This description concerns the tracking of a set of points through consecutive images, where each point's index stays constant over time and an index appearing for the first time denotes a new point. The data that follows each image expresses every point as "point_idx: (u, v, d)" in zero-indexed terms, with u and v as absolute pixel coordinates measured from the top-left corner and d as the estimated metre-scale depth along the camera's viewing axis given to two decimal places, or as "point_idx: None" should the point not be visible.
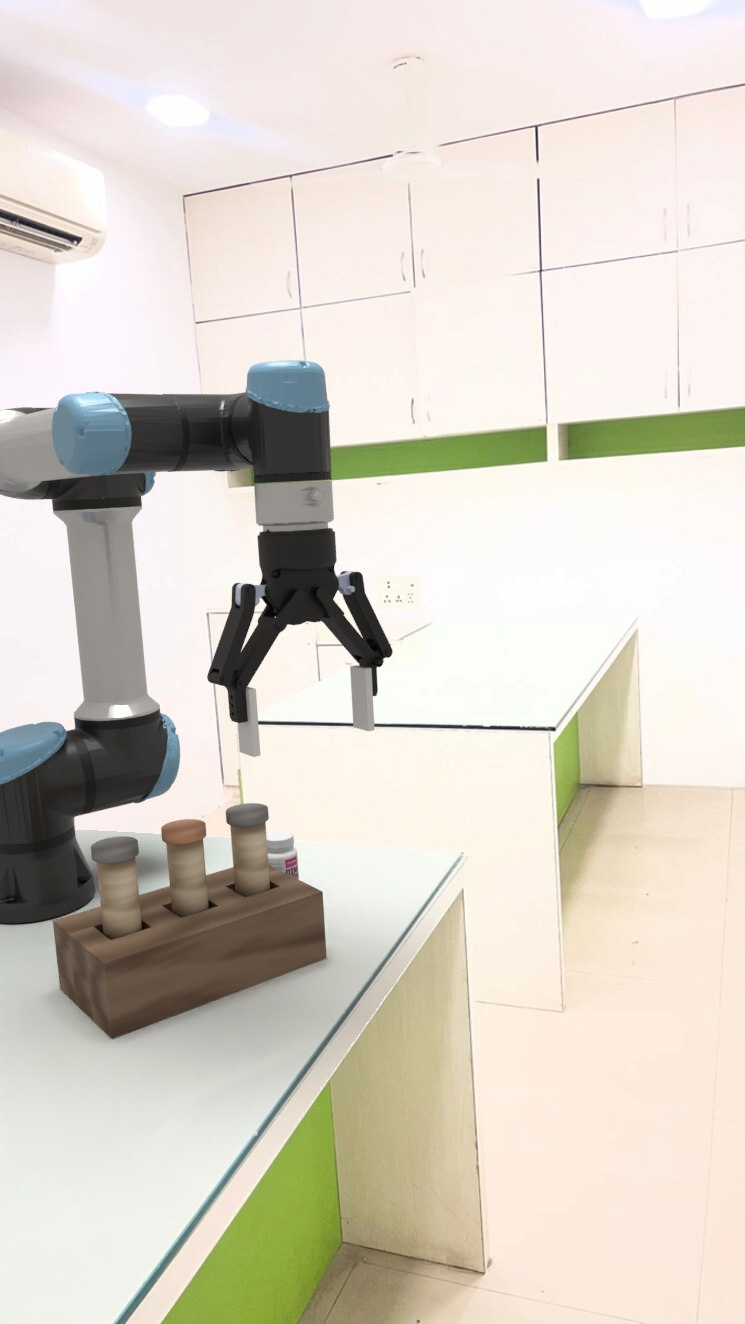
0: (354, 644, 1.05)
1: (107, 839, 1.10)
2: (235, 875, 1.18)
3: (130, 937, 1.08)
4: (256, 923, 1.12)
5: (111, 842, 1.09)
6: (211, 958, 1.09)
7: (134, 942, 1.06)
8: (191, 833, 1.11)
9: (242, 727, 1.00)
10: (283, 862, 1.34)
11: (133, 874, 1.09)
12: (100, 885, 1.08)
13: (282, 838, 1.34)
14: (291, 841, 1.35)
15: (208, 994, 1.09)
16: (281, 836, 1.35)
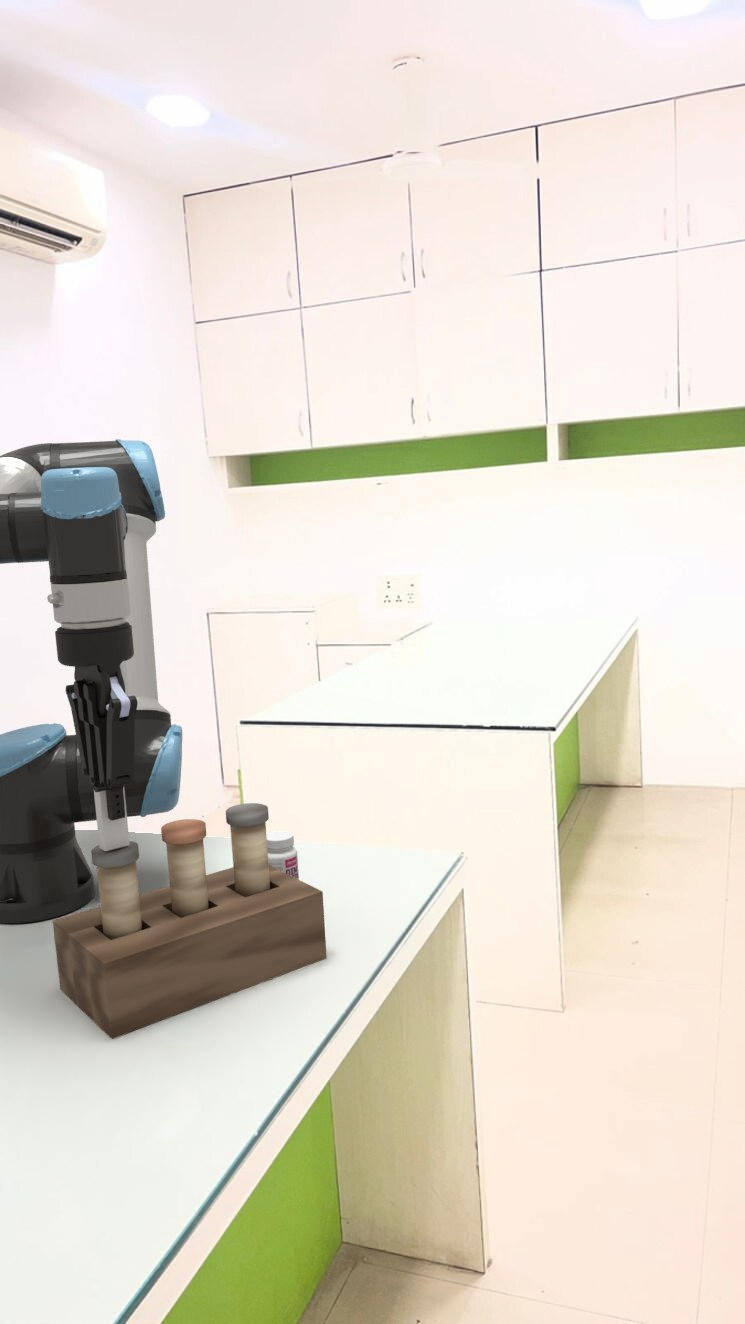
0: (97, 755, 1.06)
1: None
2: (235, 875, 1.18)
3: (130, 937, 1.08)
4: (256, 923, 1.12)
5: None
6: (211, 958, 1.09)
7: (134, 942, 1.06)
8: (191, 833, 1.11)
9: None
10: (283, 862, 1.34)
11: (134, 878, 1.09)
12: (100, 889, 1.08)
13: (282, 838, 1.34)
14: (291, 841, 1.35)
15: (208, 994, 1.09)
16: (281, 836, 1.35)
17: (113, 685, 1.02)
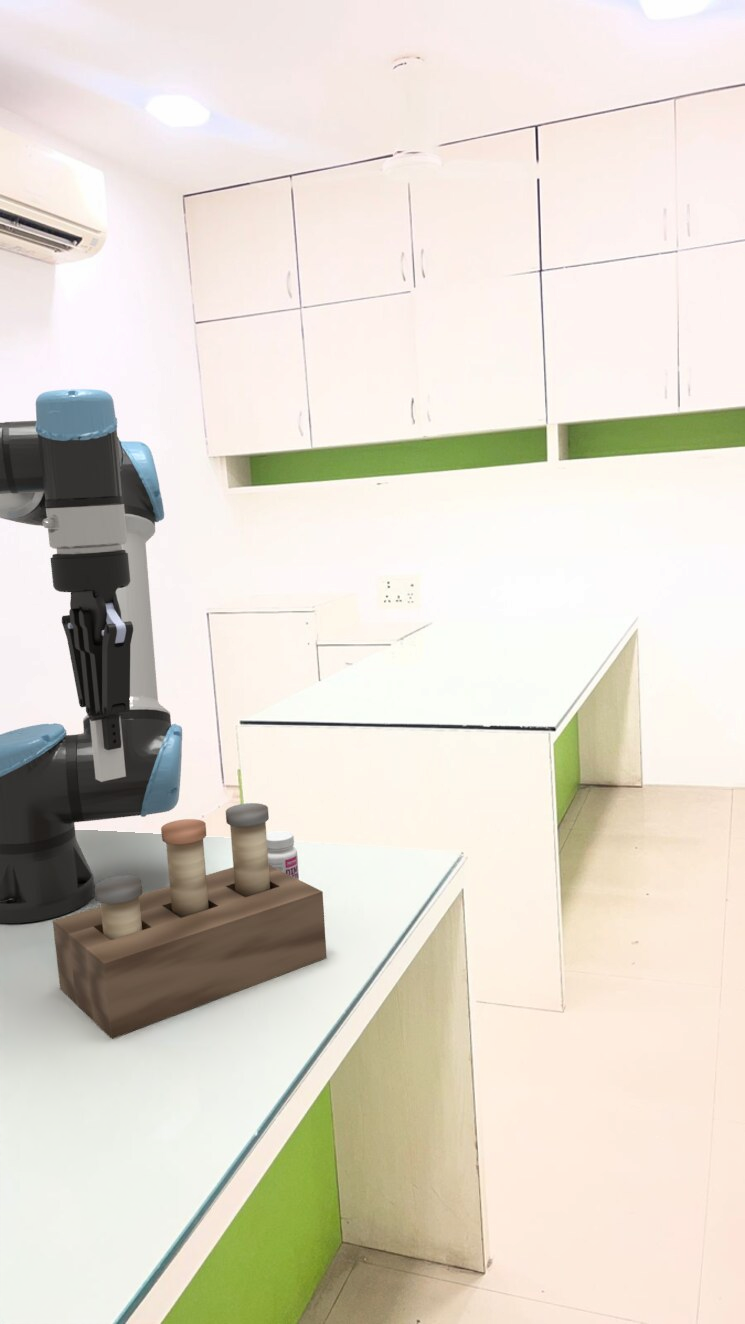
0: (93, 683, 1.05)
1: (111, 878, 1.11)
2: (235, 875, 1.18)
3: (130, 937, 1.08)
4: (256, 923, 1.12)
5: (114, 881, 1.10)
6: (211, 958, 1.09)
7: (134, 942, 1.06)
8: (191, 833, 1.11)
9: None
10: (283, 862, 1.34)
11: (137, 914, 1.09)
12: (104, 925, 1.09)
13: (282, 838, 1.34)
14: (291, 841, 1.35)
15: (208, 994, 1.09)
16: (281, 836, 1.35)
17: (109, 611, 1.01)
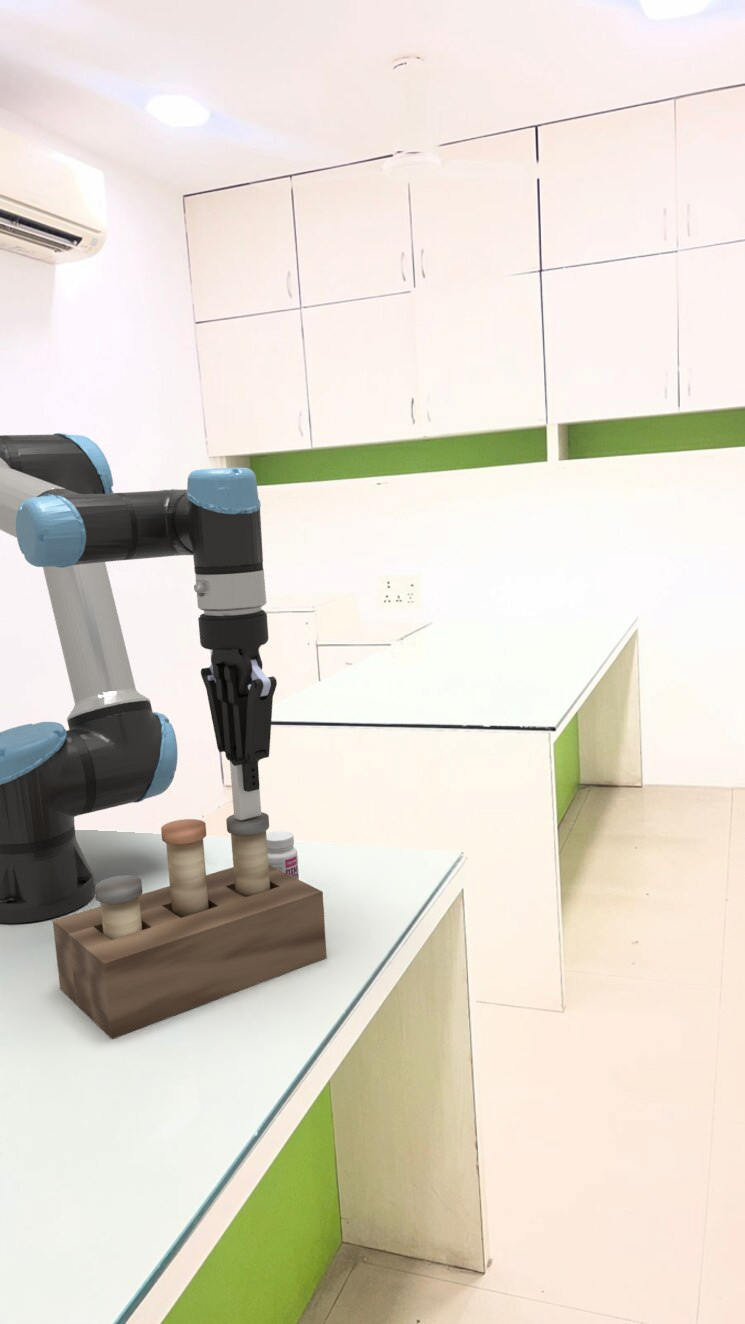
0: (235, 731, 1.15)
1: (111, 878, 1.11)
2: (236, 883, 1.19)
3: (130, 937, 1.08)
4: (256, 923, 1.12)
5: (114, 881, 1.10)
6: (211, 958, 1.09)
7: (134, 942, 1.06)
8: (191, 833, 1.11)
9: None
10: (283, 862, 1.34)
11: (137, 914, 1.09)
12: (104, 925, 1.09)
13: (282, 838, 1.34)
14: (291, 841, 1.35)
15: (208, 994, 1.09)
16: (281, 836, 1.35)
17: (253, 667, 1.12)
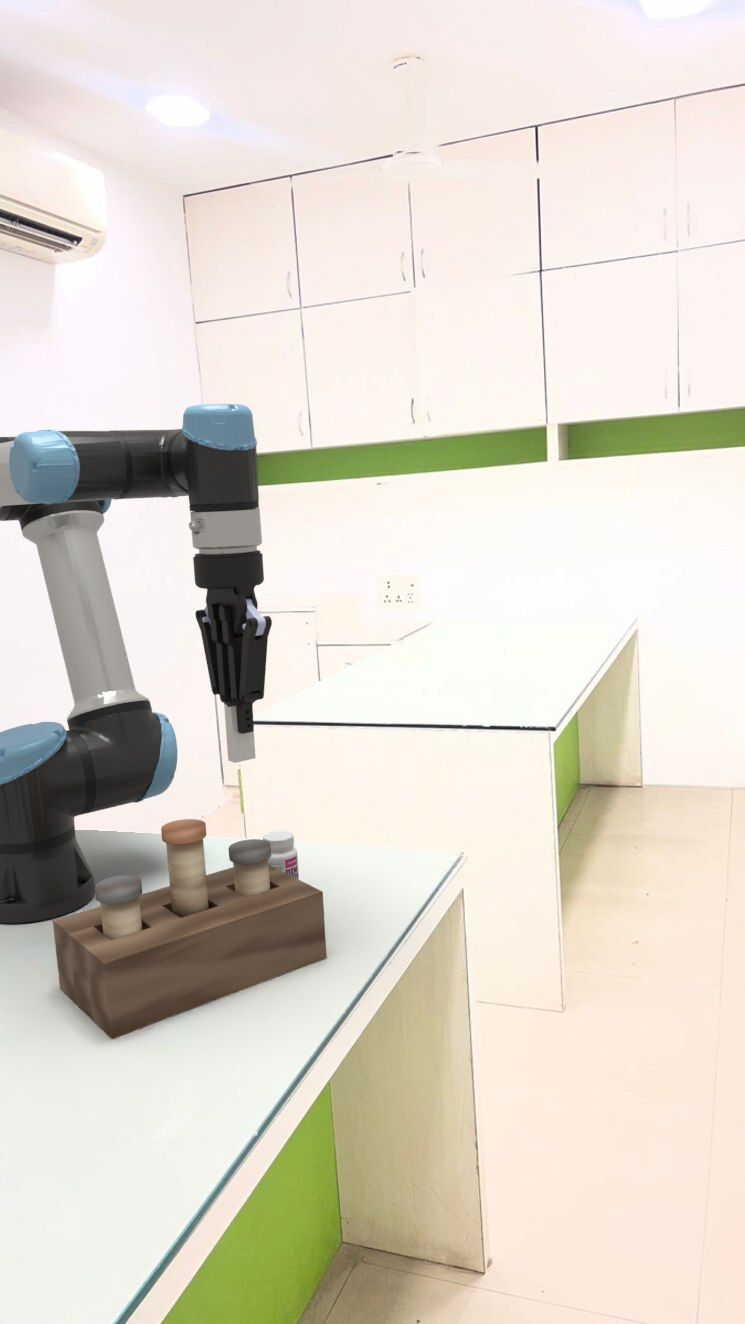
0: (230, 672, 1.14)
1: (111, 878, 1.11)
2: None
3: (130, 937, 1.08)
4: (256, 923, 1.12)
5: (114, 881, 1.10)
6: (211, 958, 1.09)
7: (134, 942, 1.06)
8: (191, 833, 1.11)
9: None
10: (283, 862, 1.34)
11: (137, 914, 1.09)
12: (104, 925, 1.09)
13: (282, 838, 1.34)
14: (291, 841, 1.35)
15: (208, 994, 1.09)
16: (281, 836, 1.35)
17: (248, 606, 1.11)
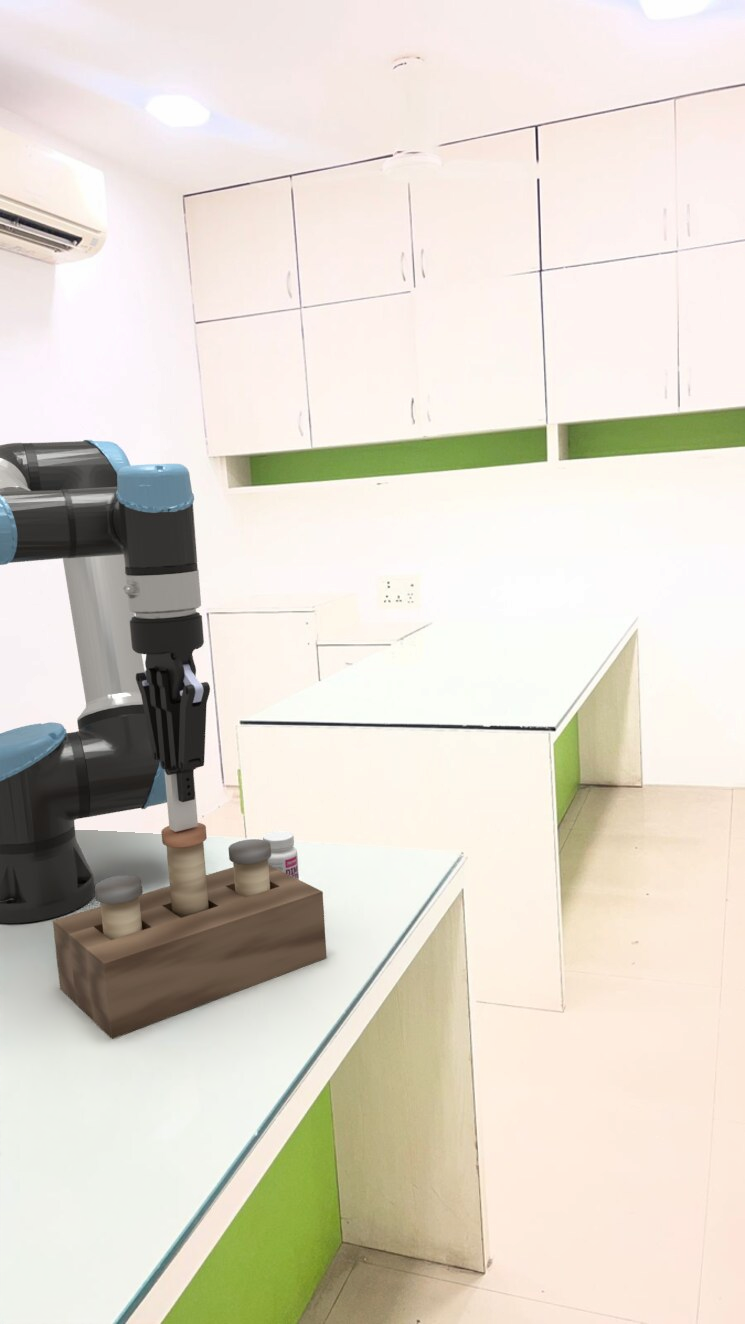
0: (169, 739, 1.10)
1: (111, 878, 1.11)
2: None
3: (130, 937, 1.08)
4: (256, 923, 1.12)
5: (114, 881, 1.10)
6: (211, 958, 1.09)
7: (134, 942, 1.06)
8: (191, 836, 1.11)
9: None
10: (283, 862, 1.34)
11: (137, 914, 1.09)
12: (104, 925, 1.09)
13: (282, 838, 1.34)
14: (291, 841, 1.35)
15: (208, 994, 1.09)
16: (281, 836, 1.35)
17: (186, 672, 1.07)
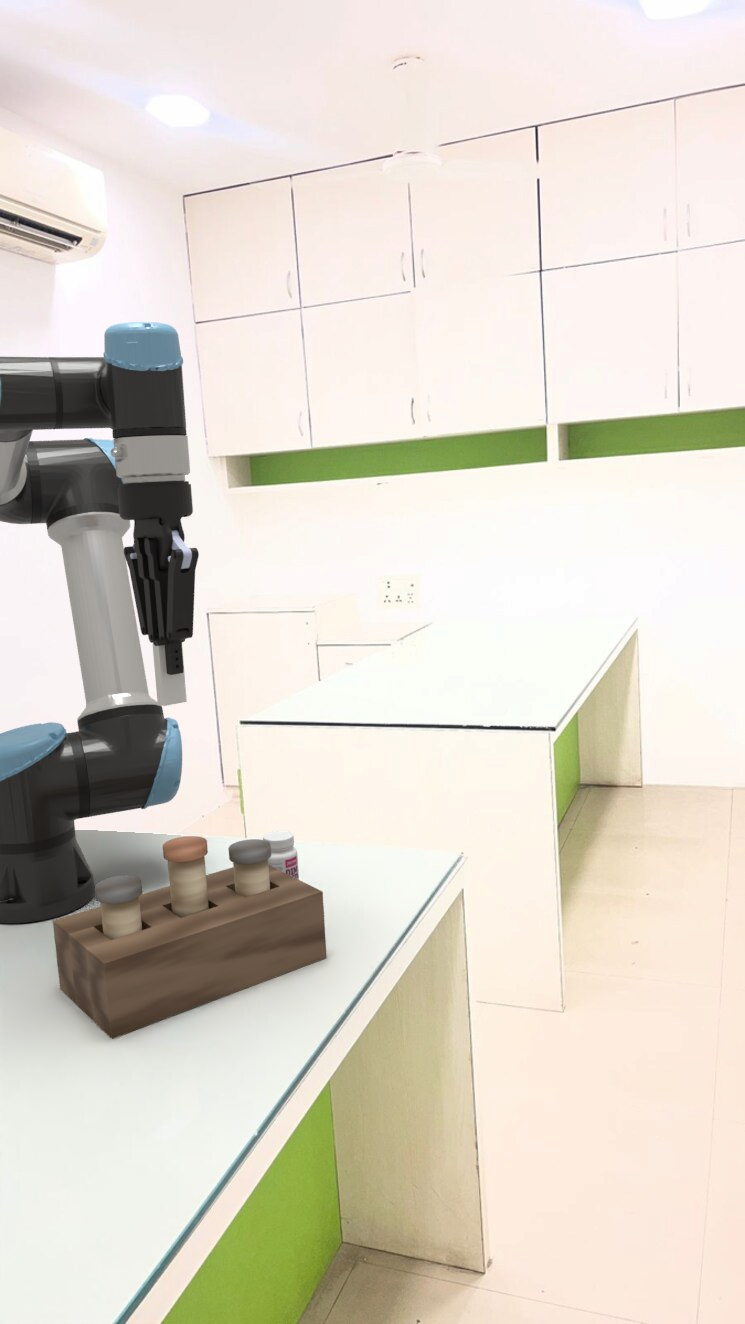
0: (157, 610, 1.08)
1: (111, 878, 1.11)
2: None
3: (130, 937, 1.08)
4: (256, 923, 1.12)
5: (114, 881, 1.10)
6: (211, 958, 1.09)
7: (134, 942, 1.06)
8: (192, 850, 1.12)
9: None
10: (283, 862, 1.34)
11: (137, 914, 1.09)
12: (104, 925, 1.09)
13: (282, 838, 1.34)
14: (291, 841, 1.35)
15: (208, 994, 1.09)
16: (281, 836, 1.35)
17: (174, 538, 1.05)
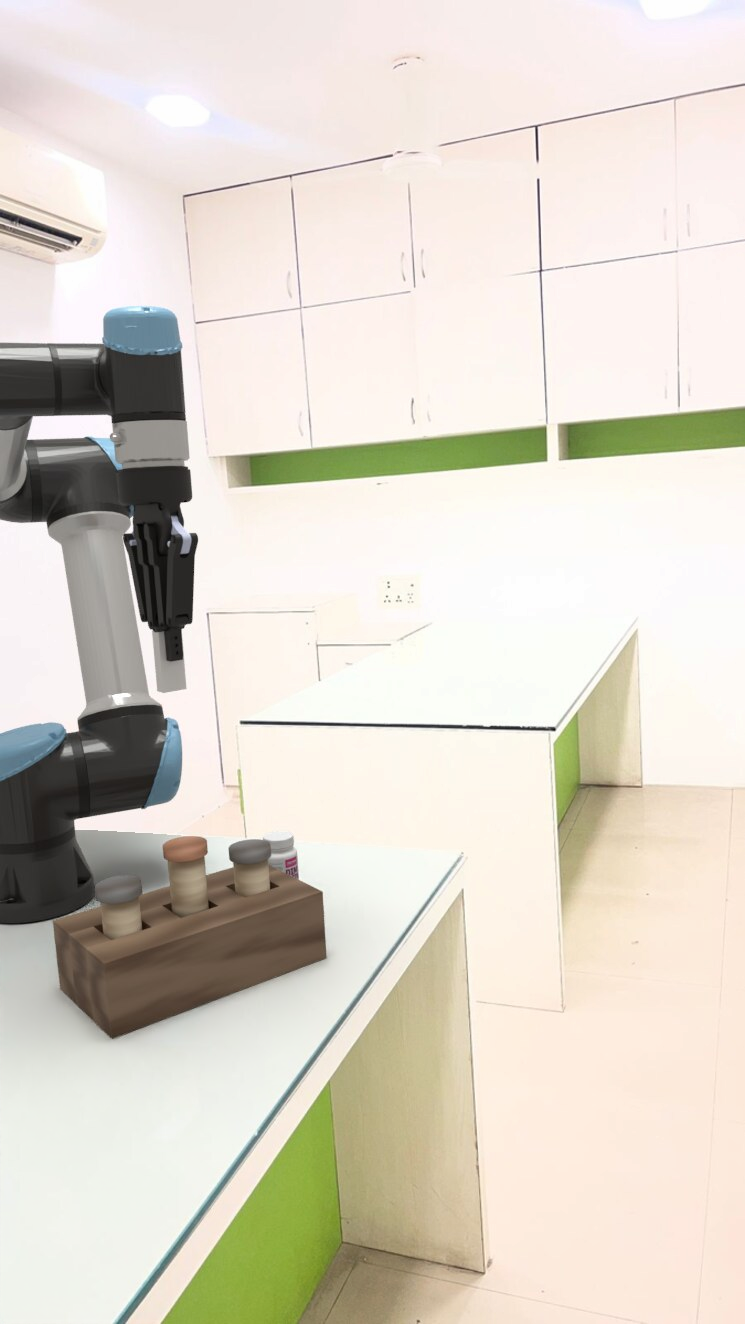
0: (157, 596, 1.08)
1: (111, 878, 1.11)
2: None
3: (130, 937, 1.08)
4: (256, 923, 1.12)
5: (114, 881, 1.10)
6: (211, 958, 1.09)
7: (134, 942, 1.06)
8: (192, 850, 1.12)
9: None
10: (283, 862, 1.34)
11: (137, 914, 1.09)
12: (104, 925, 1.09)
13: (282, 838, 1.34)
14: (291, 841, 1.35)
15: (208, 994, 1.09)
16: (281, 836, 1.35)
17: (174, 523, 1.05)
